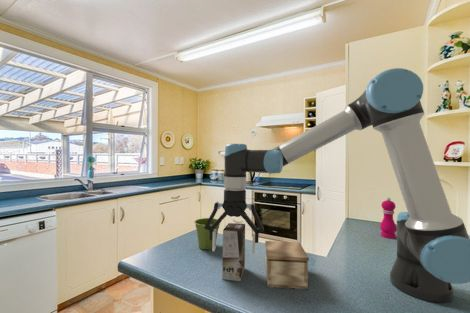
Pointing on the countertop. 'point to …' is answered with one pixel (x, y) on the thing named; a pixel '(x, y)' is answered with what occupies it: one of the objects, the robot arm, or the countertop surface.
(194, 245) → the countertop surface
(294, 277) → the box
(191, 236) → the countertop surface
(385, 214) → the pepper mill
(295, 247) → the lid
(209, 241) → the plant pot
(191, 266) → the countertop surface
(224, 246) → the coffee box
